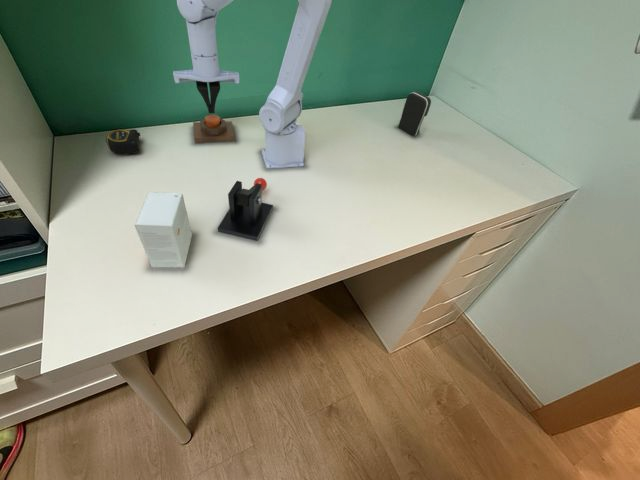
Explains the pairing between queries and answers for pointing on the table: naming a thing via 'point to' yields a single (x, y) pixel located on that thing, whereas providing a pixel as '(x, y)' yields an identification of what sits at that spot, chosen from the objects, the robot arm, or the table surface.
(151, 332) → the table surface
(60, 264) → the table surface
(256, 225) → the lever bracket
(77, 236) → the table surface
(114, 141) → the tape measure
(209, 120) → the button
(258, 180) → the lever
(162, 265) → the small box
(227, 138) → the button block
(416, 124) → the battery charger
